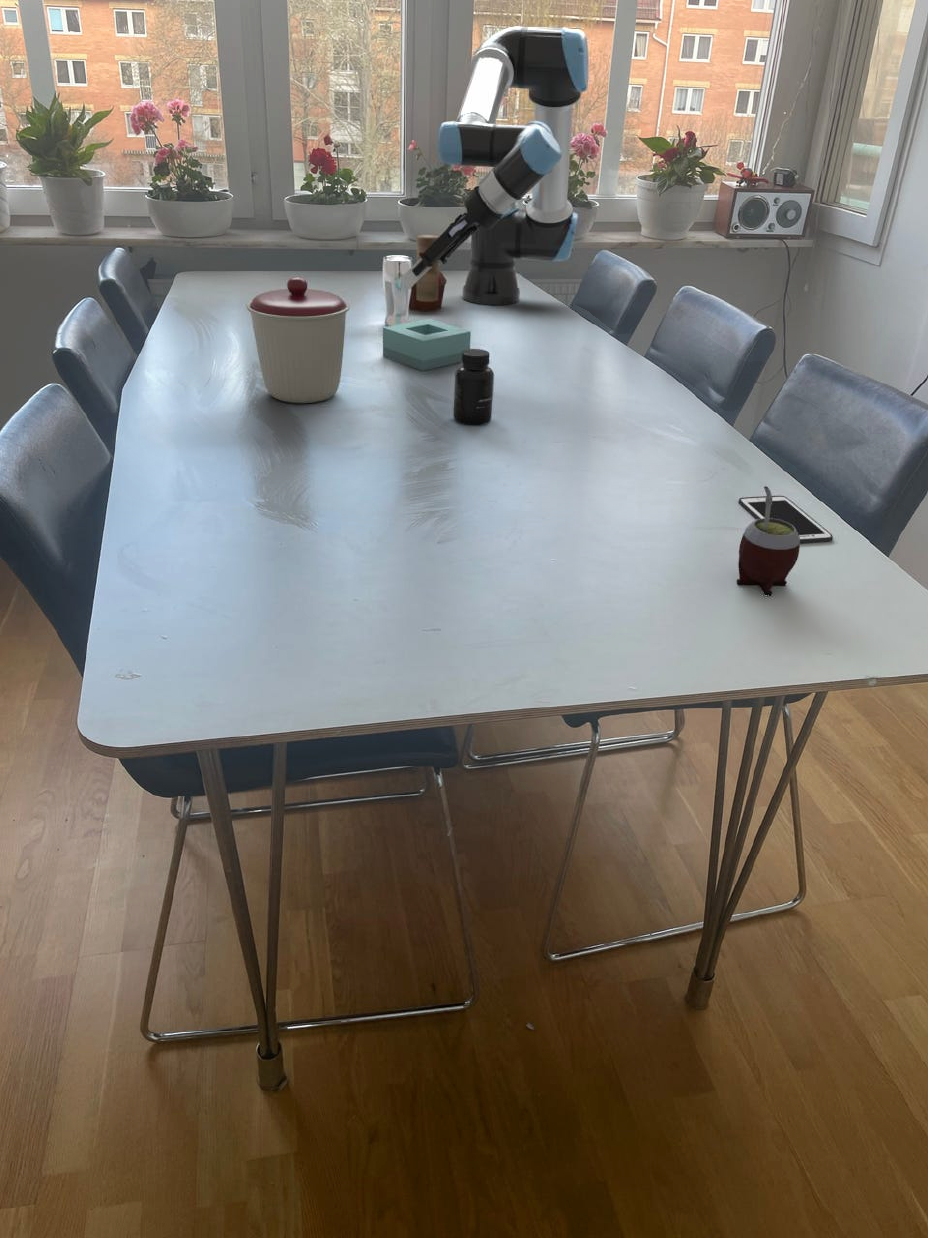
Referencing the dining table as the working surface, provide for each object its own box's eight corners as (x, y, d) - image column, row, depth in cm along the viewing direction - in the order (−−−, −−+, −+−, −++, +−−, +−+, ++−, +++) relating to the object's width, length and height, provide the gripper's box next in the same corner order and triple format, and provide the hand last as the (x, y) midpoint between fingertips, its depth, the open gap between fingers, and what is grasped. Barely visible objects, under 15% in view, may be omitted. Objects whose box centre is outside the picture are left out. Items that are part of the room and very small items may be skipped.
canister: (333, 415, 167) (329, 292, 156) (237, 405, 170) (226, 283, 159) (363, 385, 182) (361, 271, 171) (275, 376, 185) (267, 263, 174)
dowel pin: (428, 295, 196) (428, 234, 190) (442, 299, 194) (443, 237, 187) (412, 298, 194) (412, 236, 188) (426, 302, 191) (426, 239, 185)
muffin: (394, 303, 242) (394, 262, 237) (434, 300, 246) (435, 260, 241) (412, 313, 233) (412, 271, 228) (453, 311, 237) (454, 269, 232)
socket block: (428, 346, 208) (429, 318, 205) (469, 359, 200) (470, 331, 197) (382, 355, 200) (382, 327, 197) (423, 370, 192) (423, 340, 189)
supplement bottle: (487, 427, 164) (491, 359, 158) (449, 423, 165) (451, 355, 159) (494, 415, 170) (498, 348, 164) (457, 411, 171) (459, 345, 165)
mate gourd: (779, 571, 122) (805, 462, 114) (800, 602, 115) (829, 488, 108) (722, 570, 122) (744, 460, 114) (740, 601, 115) (764, 486, 107)
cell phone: (782, 500, 143) (784, 494, 142) (834, 543, 131) (836, 537, 130) (735, 503, 141) (736, 497, 141) (783, 547, 129) (784, 540, 129)
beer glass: (411, 329, 220) (411, 261, 212) (381, 327, 220) (380, 260, 212) (413, 321, 226) (413, 255, 218) (384, 320, 226) (383, 254, 218)
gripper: (489, 222, 174) (405, 304, 187) (516, 210, 188) (437, 287, 201) (462, 188, 172) (380, 273, 185) (492, 179, 186) (414, 259, 199)
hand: (410, 280), depth 193 cm, fingers closed on dowel pin, 4 cm apart
